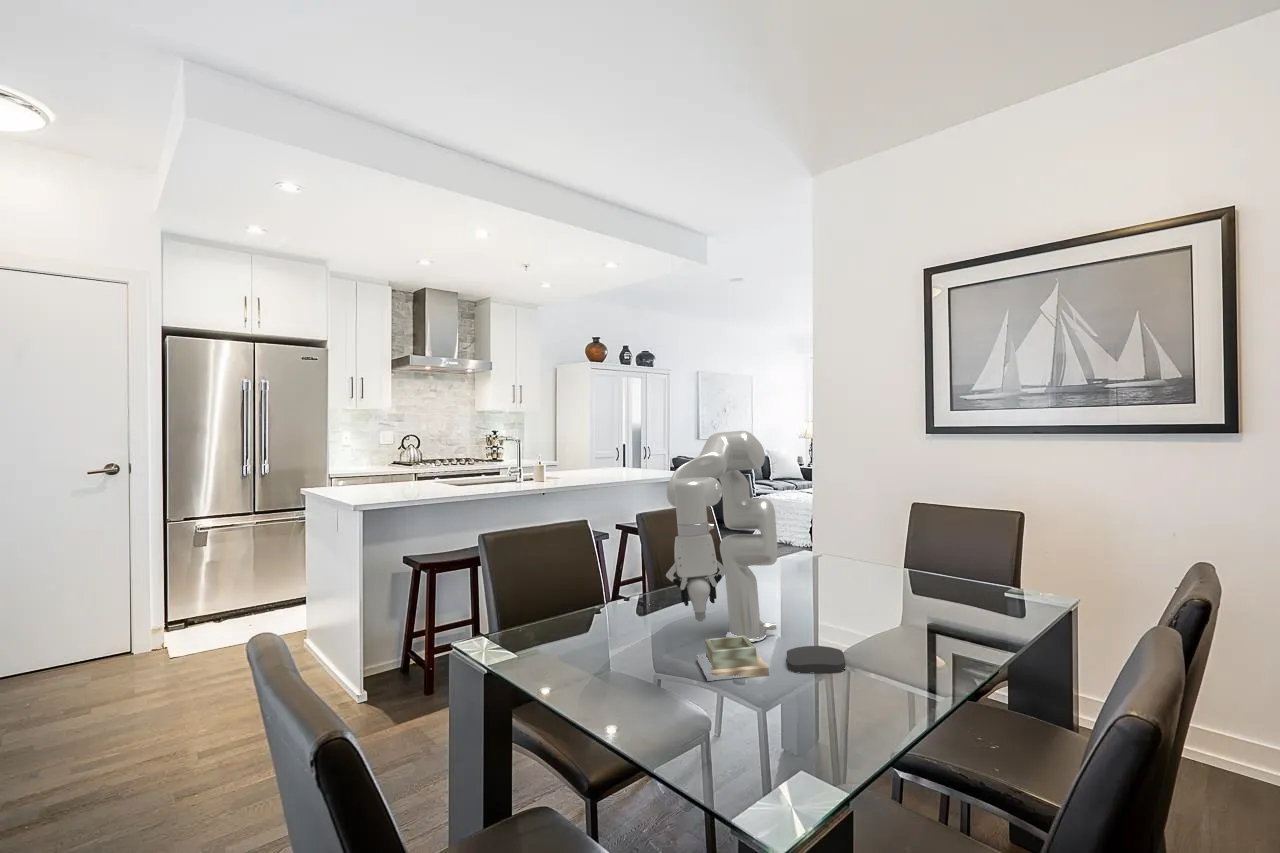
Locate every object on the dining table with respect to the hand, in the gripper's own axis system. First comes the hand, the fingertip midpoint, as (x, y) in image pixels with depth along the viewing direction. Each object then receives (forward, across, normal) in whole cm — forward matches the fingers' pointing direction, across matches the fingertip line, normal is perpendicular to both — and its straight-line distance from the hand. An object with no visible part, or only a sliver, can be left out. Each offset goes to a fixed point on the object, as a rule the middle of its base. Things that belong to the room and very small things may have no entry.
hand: (699, 602), depth 153 cm
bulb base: (+21, -9, -12) cm, 26 cm away
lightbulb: (+5, 0, 0) cm, 5 cm away
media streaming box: (+22, -31, -10) cm, 39 cm away
